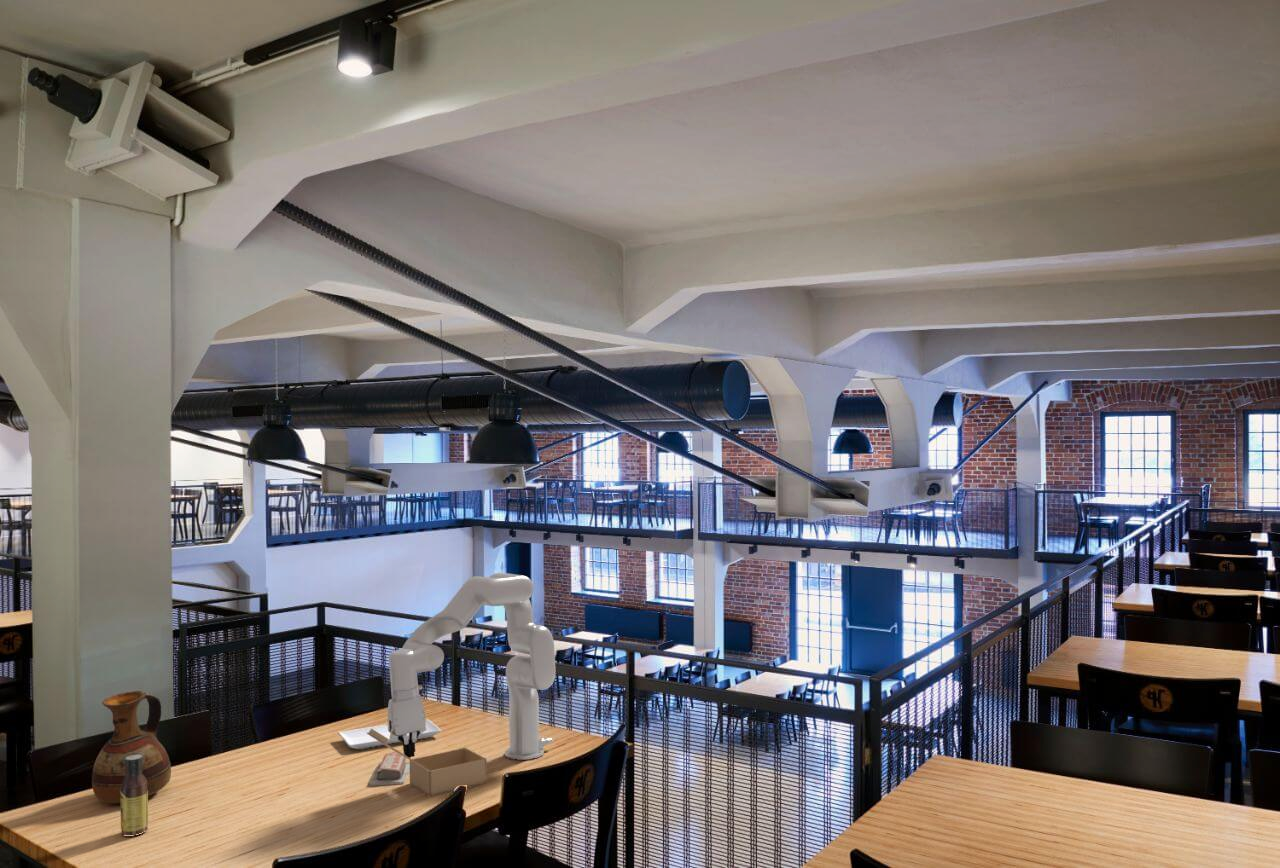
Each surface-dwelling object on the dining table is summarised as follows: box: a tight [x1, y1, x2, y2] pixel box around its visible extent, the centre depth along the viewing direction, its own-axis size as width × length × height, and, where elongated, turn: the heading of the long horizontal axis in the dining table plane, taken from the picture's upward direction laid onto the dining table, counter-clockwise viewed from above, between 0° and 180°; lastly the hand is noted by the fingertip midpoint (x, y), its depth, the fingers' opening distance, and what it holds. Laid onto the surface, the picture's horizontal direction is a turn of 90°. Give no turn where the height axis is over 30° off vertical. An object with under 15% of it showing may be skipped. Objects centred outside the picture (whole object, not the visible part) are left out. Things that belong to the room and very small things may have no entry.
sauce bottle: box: [120, 755, 149, 836], centre depth 241 cm, size 7×6×20 cm
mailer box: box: [409, 747, 488, 798], centre depth 275 cm, size 18×14×7 cm
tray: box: [337, 718, 442, 750], centre depth 319 cm, size 17×32×4 cm, turn 120°
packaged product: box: [369, 752, 410, 787], centre depth 283 cm, size 18×5×10 cm
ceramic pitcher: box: [91, 690, 172, 804], centre depth 269 cm, size 20×20×30 cm
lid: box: [367, 729, 427, 770], centre depth 266 cm, size 16×14×2 cm
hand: (409, 755), depth 268 cm, fingers closed
